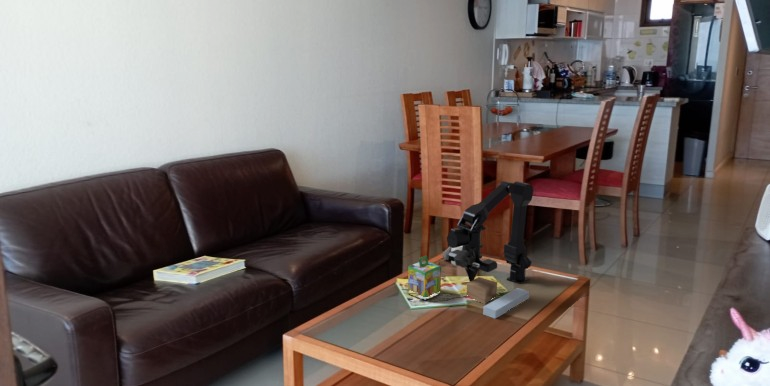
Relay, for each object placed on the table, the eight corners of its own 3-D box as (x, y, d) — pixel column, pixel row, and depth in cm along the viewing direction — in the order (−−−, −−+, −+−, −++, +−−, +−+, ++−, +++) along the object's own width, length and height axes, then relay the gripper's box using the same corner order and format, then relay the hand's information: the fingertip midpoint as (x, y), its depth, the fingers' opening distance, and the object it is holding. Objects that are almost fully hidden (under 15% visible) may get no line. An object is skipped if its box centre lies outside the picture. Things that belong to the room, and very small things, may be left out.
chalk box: (425, 301, 231) (425, 264, 227) (407, 294, 237) (407, 257, 233) (441, 294, 237) (442, 257, 233) (423, 287, 244) (423, 251, 240)
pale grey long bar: (517, 295, 236) (517, 287, 235) (528, 299, 233) (529, 291, 232) (483, 314, 221) (483, 306, 220) (495, 318, 217) (495, 310, 217)
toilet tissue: (439, 260, 272) (440, 241, 270) (469, 258, 274) (470, 239, 272) (445, 267, 263) (445, 248, 261) (475, 265, 266) (476, 246, 263)
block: (478, 291, 239) (478, 277, 238) (496, 297, 234) (497, 282, 233) (466, 298, 234) (466, 283, 232) (484, 304, 228) (485, 289, 227)
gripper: (439, 241, 232) (438, 281, 237) (480, 254, 220) (479, 295, 224) (457, 234, 240) (456, 273, 244) (498, 246, 228) (497, 286, 232)
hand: (471, 281), depth 236 cm, fingers closed
